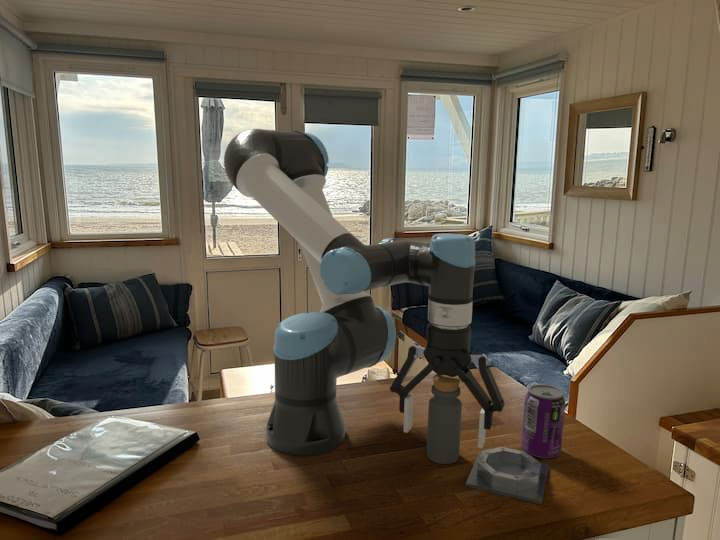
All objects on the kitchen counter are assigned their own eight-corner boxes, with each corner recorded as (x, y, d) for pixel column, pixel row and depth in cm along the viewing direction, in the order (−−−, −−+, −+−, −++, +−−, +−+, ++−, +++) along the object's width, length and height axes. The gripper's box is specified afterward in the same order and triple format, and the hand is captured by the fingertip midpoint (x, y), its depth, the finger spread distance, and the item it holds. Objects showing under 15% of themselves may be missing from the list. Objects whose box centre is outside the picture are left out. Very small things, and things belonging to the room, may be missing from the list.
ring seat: (465, 486, 93) (466, 472, 92) (480, 452, 103) (480, 439, 103) (541, 504, 88) (542, 489, 88) (548, 467, 99) (549, 453, 98)
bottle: (461, 464, 99) (465, 384, 96) (428, 464, 99) (431, 384, 96) (456, 448, 105) (460, 372, 102) (424, 447, 105) (428, 371, 102)
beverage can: (563, 463, 100) (569, 400, 98) (522, 458, 102) (527, 396, 99) (557, 444, 107) (563, 385, 105) (519, 440, 109) (524, 381, 106)
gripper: (374, 320, 99) (371, 431, 103) (520, 339, 89) (511, 461, 93) (389, 310, 106) (386, 415, 110) (526, 327, 96) (517, 441, 100)
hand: (443, 437), depth 101 cm, fingers open, 13 cm apart
